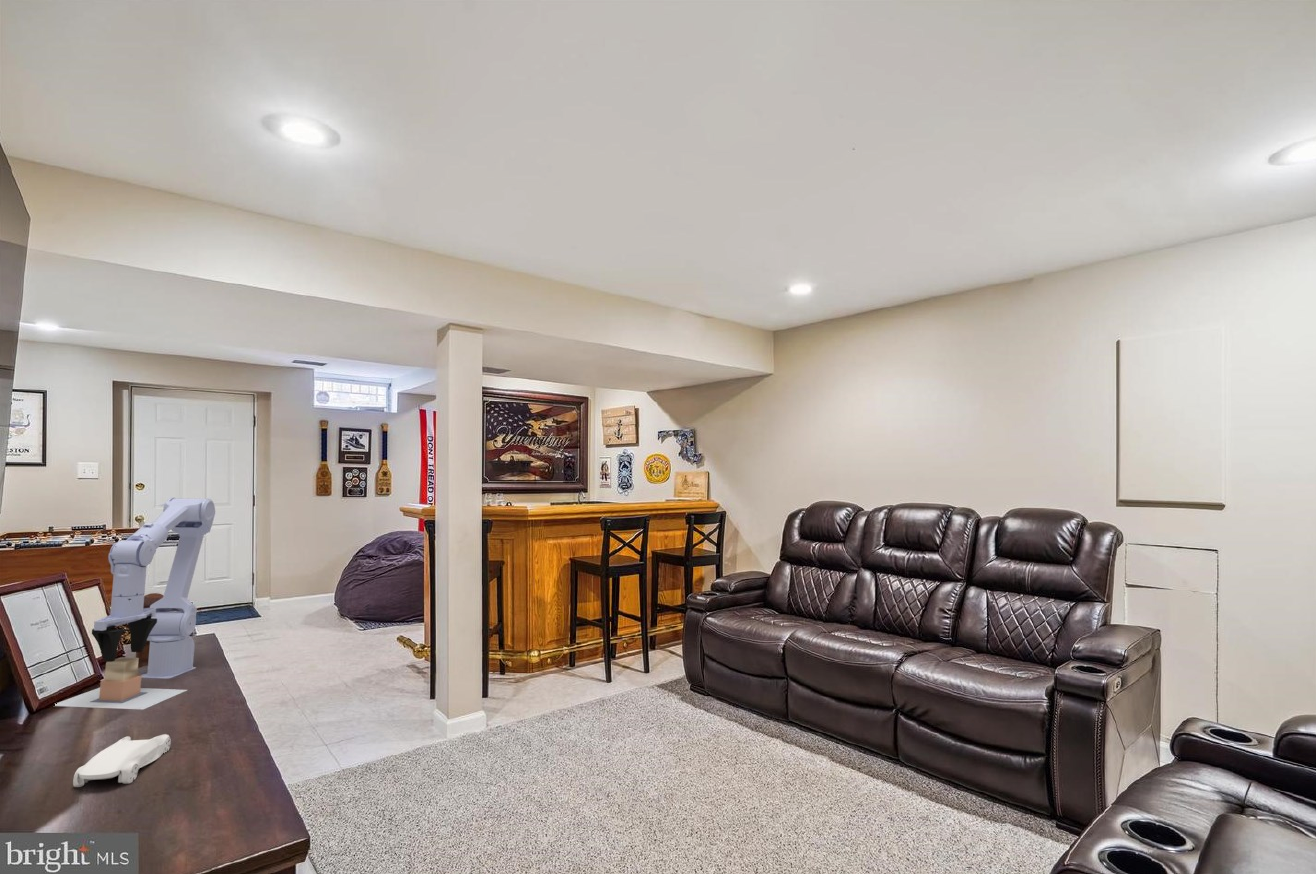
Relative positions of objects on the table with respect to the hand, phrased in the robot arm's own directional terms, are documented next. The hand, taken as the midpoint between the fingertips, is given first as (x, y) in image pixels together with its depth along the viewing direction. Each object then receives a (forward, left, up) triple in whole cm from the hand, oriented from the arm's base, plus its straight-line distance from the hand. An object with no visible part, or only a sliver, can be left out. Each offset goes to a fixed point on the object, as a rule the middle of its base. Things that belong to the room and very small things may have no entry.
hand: (123, 656), depth 147 cm
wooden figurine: (-28, -15, -10) cm, 33 cm away
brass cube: (0, 0, -5) cm, 5 cm away
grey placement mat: (0, +1, -9) cm, 9 cm away
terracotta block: (0, 0, -9) cm, 9 cm away
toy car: (+32, +28, -10) cm, 44 cm away
